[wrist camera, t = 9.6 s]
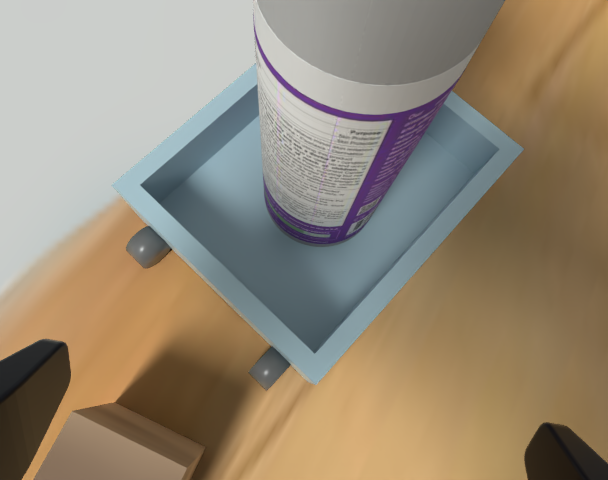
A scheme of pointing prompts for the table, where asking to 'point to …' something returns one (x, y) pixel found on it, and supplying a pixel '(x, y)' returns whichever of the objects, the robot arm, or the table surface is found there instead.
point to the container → (351, 100)
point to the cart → (291, 254)
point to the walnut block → (118, 448)
